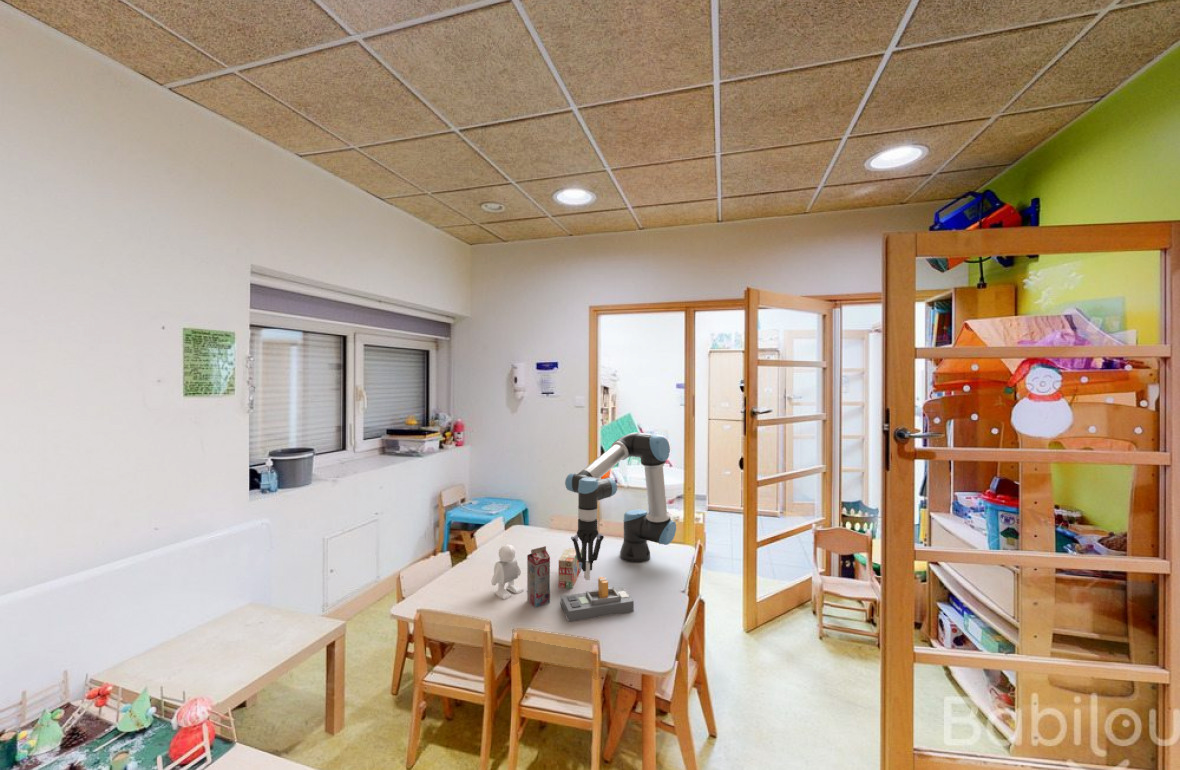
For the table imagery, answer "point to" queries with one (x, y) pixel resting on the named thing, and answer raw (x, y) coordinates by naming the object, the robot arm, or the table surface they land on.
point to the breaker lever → (602, 587)
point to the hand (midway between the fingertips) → (586, 578)
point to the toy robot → (506, 572)
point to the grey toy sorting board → (596, 604)
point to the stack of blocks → (569, 568)
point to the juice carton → (538, 577)
